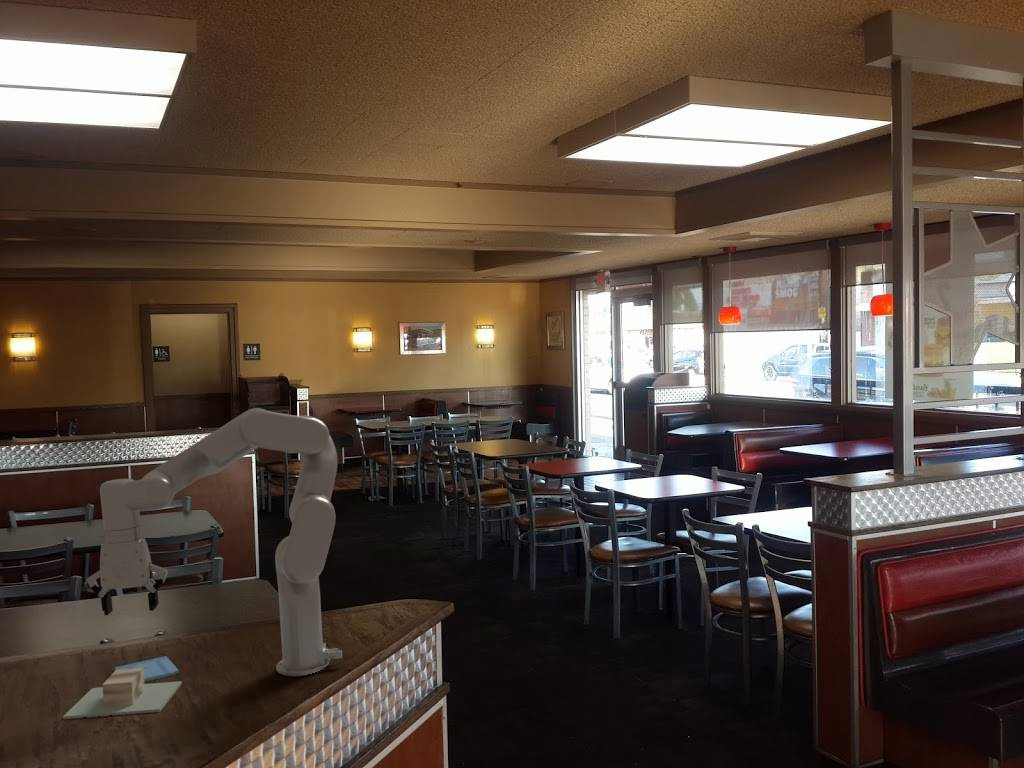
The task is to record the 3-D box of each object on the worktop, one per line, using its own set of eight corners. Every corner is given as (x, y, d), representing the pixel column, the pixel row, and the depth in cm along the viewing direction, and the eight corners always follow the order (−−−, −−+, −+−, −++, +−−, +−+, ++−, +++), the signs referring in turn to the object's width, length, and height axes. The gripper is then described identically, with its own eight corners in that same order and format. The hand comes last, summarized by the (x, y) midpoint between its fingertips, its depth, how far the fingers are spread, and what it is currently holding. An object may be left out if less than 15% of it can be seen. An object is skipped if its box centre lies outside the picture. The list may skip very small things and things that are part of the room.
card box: (133, 704, 195) (131, 682, 195) (104, 707, 194) (102, 684, 194) (145, 689, 204) (143, 667, 204) (117, 691, 203) (115, 669, 203)
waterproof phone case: (179, 675, 215) (179, 670, 215) (125, 688, 208) (125, 683, 208) (166, 660, 226) (166, 655, 226) (115, 672, 219) (114, 666, 219)
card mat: (181, 683, 208) (181, 681, 208) (160, 711, 192) (159, 709, 192) (92, 690, 207) (92, 687, 206) (63, 719, 191) (62, 716, 191)
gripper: (76, 542, 195) (84, 620, 196) (158, 535, 196) (165, 612, 197) (89, 535, 202) (97, 610, 203) (168, 528, 204) (175, 602, 205)
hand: (131, 611), depth 200 cm, fingers open, 9 cm apart
